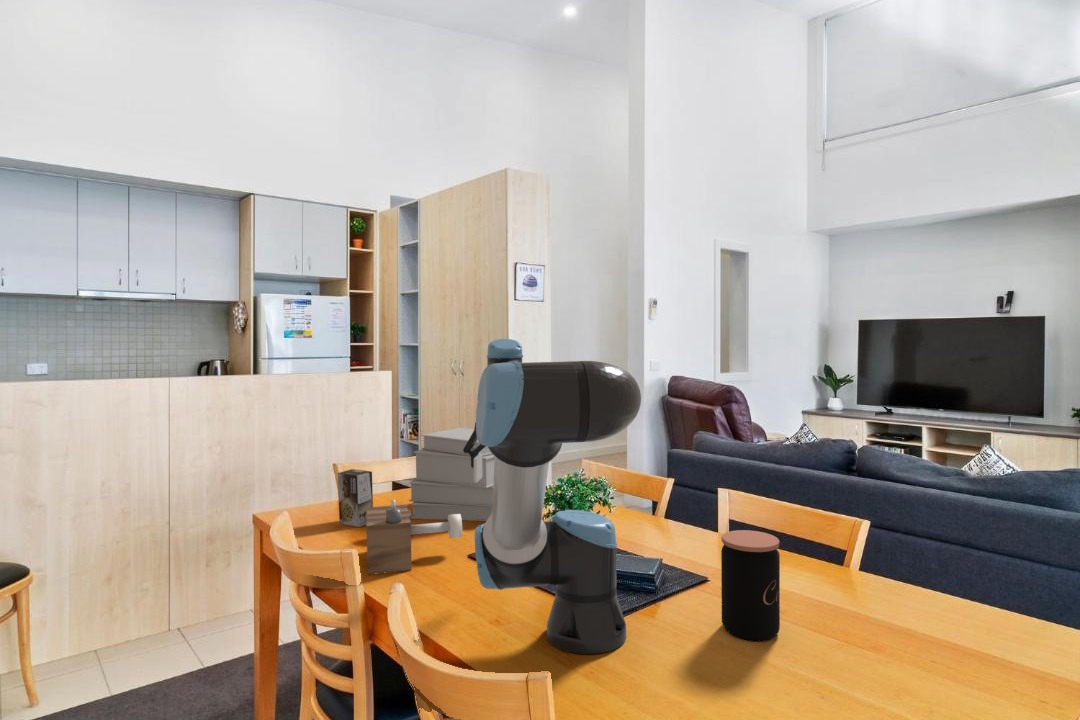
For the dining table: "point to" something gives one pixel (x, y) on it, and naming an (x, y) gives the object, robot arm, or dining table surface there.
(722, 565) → the coffee jar
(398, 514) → the potentiometer
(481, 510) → the book stack
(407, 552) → the block
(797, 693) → the dining table surface
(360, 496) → the coffee box
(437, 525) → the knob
